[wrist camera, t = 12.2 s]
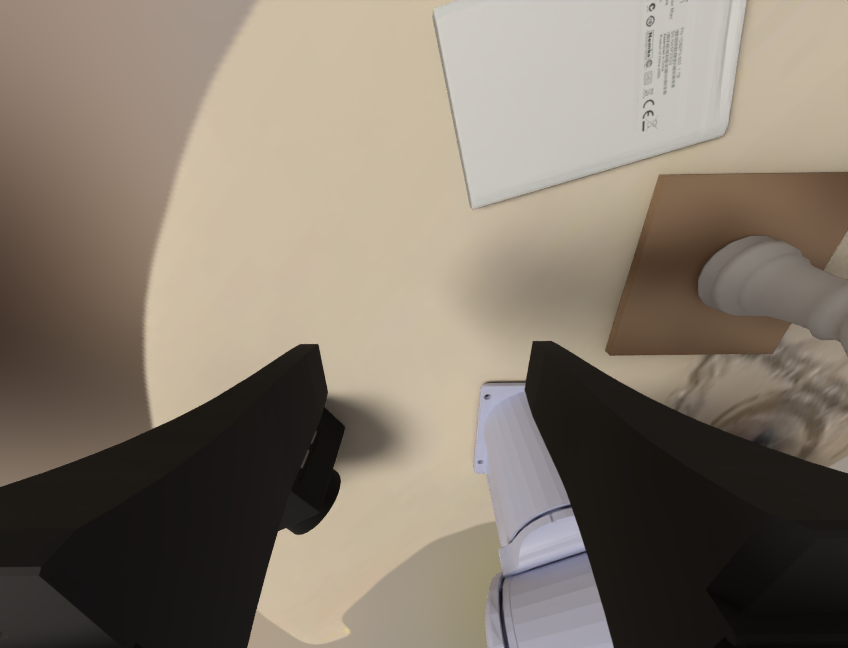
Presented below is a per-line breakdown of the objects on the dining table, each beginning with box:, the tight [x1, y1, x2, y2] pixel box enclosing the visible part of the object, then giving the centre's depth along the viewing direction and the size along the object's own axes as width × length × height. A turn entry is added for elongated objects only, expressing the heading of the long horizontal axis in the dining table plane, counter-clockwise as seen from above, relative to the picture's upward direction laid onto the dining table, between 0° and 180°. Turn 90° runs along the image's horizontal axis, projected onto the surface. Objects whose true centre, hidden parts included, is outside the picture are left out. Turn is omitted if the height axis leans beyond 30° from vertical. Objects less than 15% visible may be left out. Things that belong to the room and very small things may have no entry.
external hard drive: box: [432, 0, 747, 209], centre depth 14 cm, size 2×8×12 cm
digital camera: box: [278, 407, 345, 535], centre depth 22 cm, size 10×5×7 cm, turn 123°
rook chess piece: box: [698, 236, 848, 356], centre depth 15 cm, size 4×4×8 cm
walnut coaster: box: [605, 172, 848, 356], centre depth 18 cm, size 11×11×1 cm
